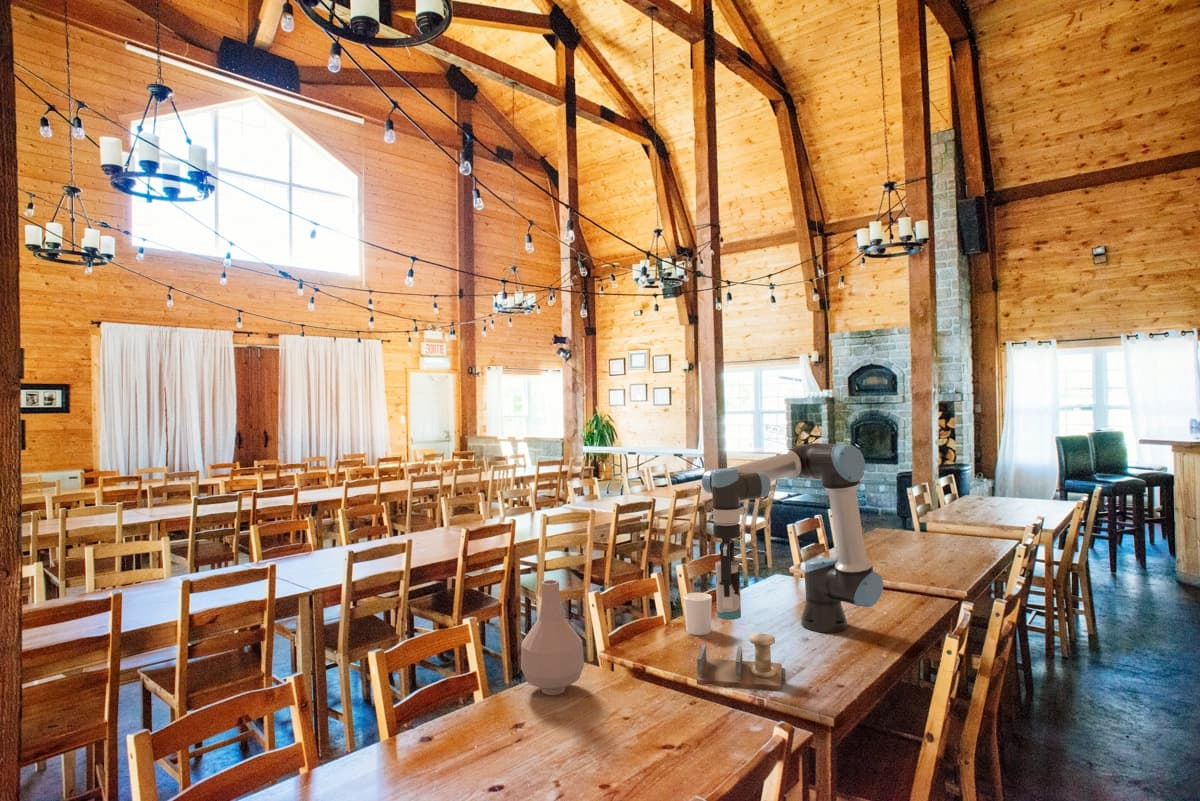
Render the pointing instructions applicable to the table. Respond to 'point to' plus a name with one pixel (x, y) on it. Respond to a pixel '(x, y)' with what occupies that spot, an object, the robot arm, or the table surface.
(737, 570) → the cup
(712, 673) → the winding board
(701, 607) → the candle holder
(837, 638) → the table surface
